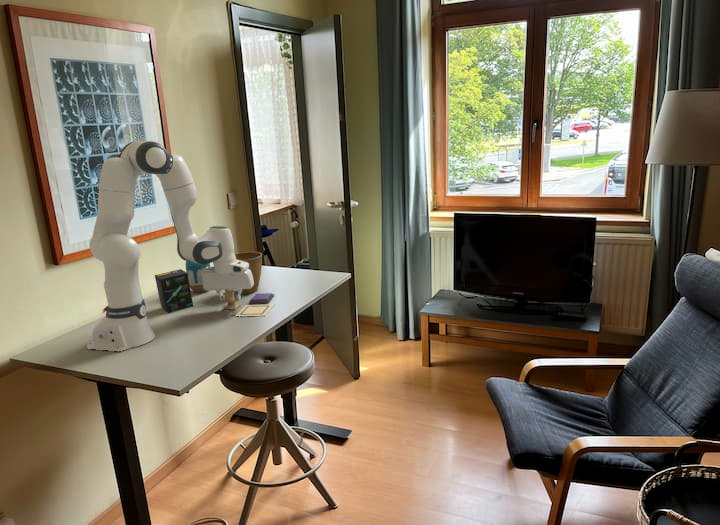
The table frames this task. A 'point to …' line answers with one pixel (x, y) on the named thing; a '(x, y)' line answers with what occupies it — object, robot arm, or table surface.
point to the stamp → (230, 301)
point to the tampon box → (174, 290)
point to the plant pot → (252, 267)
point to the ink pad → (261, 298)
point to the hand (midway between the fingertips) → (230, 299)
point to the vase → (195, 275)
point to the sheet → (255, 310)
